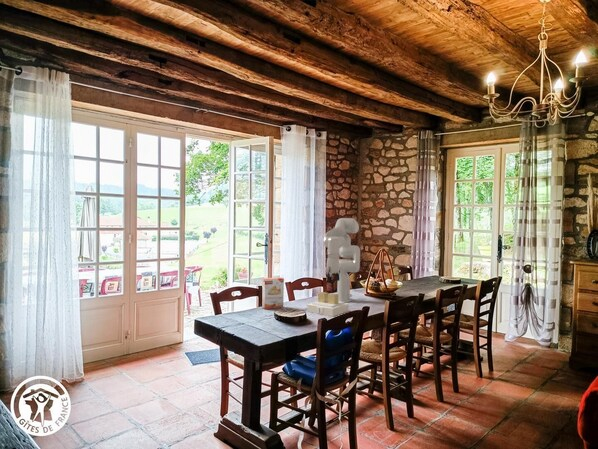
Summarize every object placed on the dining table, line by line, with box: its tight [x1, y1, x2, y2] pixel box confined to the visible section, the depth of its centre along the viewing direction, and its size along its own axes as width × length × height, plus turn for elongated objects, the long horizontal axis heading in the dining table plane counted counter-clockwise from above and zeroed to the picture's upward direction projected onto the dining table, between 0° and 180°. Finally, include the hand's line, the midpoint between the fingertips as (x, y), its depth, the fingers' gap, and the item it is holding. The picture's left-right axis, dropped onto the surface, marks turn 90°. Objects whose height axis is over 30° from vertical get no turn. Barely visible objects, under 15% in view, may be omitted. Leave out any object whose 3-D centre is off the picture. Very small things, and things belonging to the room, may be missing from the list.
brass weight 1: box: [317, 291, 329, 303], centre depth 278 cm, size 5×5×6 cm
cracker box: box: [261, 276, 285, 310], centre depth 285 cm, size 14×6×21 cm, turn 112°
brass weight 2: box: [328, 292, 339, 304], centre depth 273 cm, size 5×5×6 cm
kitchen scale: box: [306, 300, 350, 317], centre depth 276 cm, size 21×20×6 cm
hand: (333, 281), depth 274 cm, fingers open, 9 cm apart
